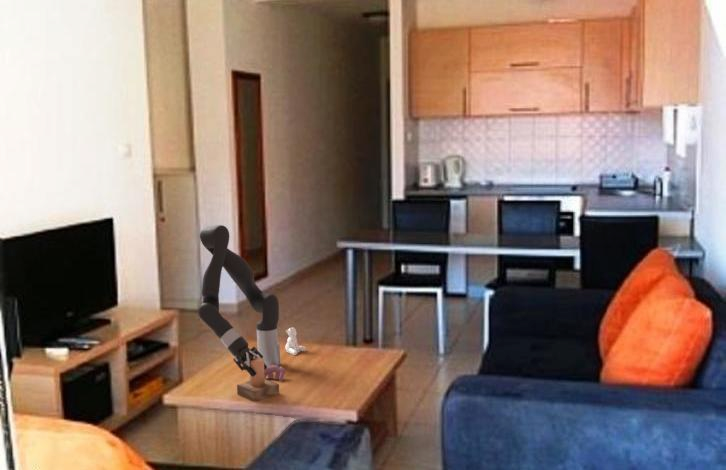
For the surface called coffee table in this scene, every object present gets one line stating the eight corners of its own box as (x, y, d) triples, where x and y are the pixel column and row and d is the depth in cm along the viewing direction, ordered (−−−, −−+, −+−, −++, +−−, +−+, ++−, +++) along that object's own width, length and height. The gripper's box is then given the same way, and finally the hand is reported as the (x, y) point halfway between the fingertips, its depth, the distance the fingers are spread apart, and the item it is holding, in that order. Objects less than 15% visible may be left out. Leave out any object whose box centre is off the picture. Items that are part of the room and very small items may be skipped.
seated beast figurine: (294, 356, 354) (294, 331, 352) (280, 353, 358) (279, 329, 357) (306, 350, 362) (305, 326, 360) (291, 348, 366) (291, 324, 365)
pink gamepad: (285, 383, 320) (287, 366, 322) (281, 381, 316) (283, 364, 318) (263, 381, 323) (266, 365, 325) (259, 379, 319) (262, 363, 321)
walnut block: (261, 387, 311) (261, 377, 310) (279, 393, 302) (278, 384, 302) (237, 394, 303) (237, 384, 302) (254, 401, 294) (254, 391, 294)
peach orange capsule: (261, 381, 306) (260, 357, 305) (267, 384, 301) (266, 360, 300) (247, 383, 303) (246, 359, 301) (254, 387, 298) (252, 363, 297)
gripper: (230, 340, 296) (256, 371, 293) (248, 331, 309) (274, 361, 306) (219, 352, 298) (245, 383, 296) (238, 343, 311) (263, 372, 309)
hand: (260, 372), depth 301 cm, fingers open, 8 cm apart
